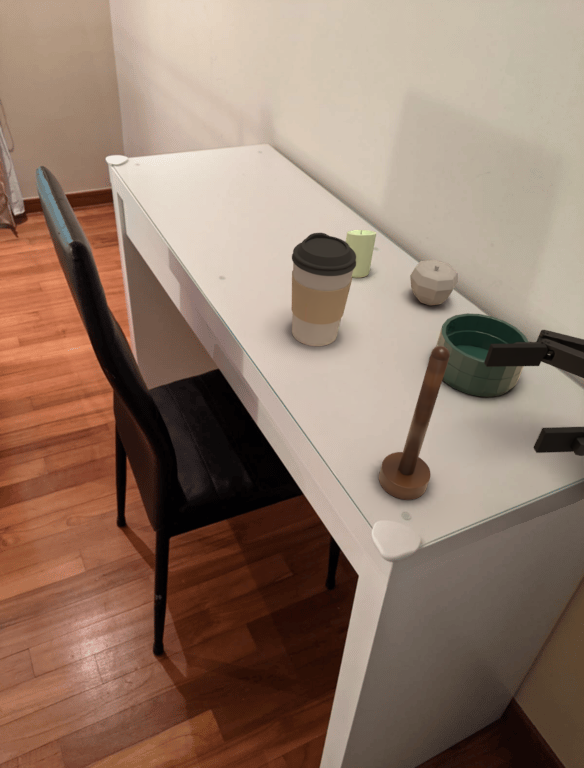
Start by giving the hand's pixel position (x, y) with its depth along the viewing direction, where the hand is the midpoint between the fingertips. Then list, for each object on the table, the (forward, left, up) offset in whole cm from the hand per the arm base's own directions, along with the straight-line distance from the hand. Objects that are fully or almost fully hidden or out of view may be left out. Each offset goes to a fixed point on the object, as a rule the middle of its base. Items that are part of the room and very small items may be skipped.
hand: (511, 394), depth 64 cm
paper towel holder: (+2, +9, -13) cm, 16 cm away
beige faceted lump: (+37, -16, -13) cm, 42 cm away
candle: (+49, -8, -13) cm, 51 cm away
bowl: (+18, -12, -13) cm, 25 cm away
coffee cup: (+33, +7, -13) cm, 36 cm away
